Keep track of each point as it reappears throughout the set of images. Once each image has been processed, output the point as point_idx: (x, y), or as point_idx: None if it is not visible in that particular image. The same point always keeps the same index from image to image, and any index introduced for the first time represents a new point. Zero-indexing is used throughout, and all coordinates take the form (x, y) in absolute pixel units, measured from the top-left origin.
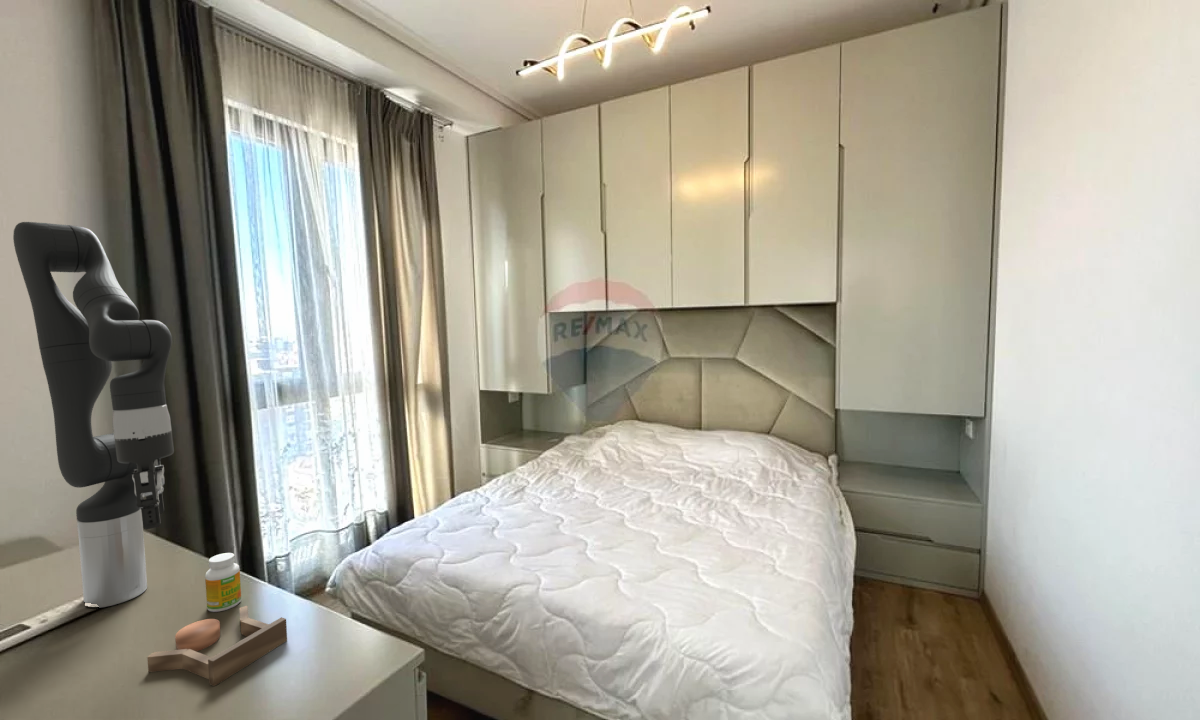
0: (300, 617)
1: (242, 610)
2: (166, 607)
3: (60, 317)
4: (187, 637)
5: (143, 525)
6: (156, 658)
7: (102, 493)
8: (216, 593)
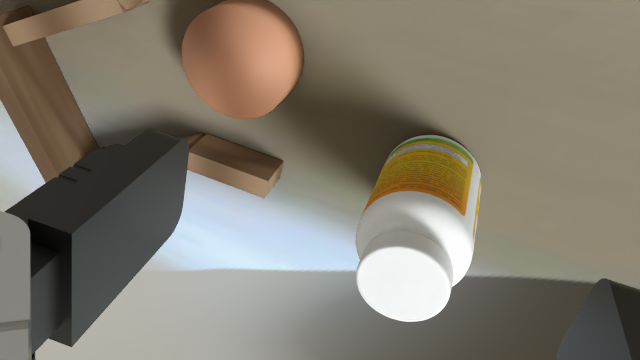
0: (183, 243)
1: (243, 178)
2: (618, 58)
3: None
4: (204, 29)
5: (135, 139)
6: None
7: None
8: (382, 178)
